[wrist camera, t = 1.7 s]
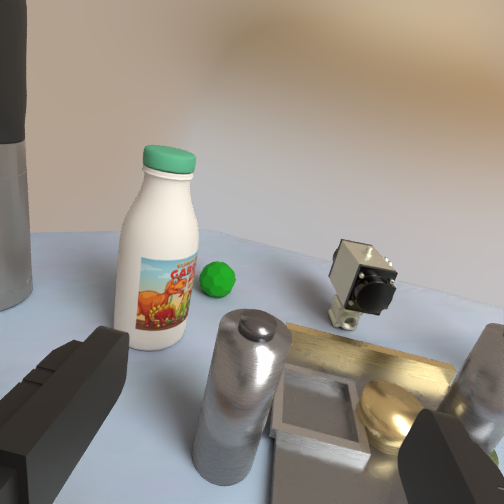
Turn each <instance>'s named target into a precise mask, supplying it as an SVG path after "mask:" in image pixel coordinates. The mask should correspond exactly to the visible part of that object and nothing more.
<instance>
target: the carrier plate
mask: <svg viewBox="0 0 504 504" xmlns="http://www.w3.org/2000/svg"><path fill="white" fill-rule="evenodd" d="M286 326H287V327H288V329H289V330H290V332H291V335H292V344H291V347H290V350H289V353H288V356H287V359H286V363H285V366H284V369H283V372H282V375H281V378H280V381H279V384H278V387H277V390H276V393H275V396H274V399H273V402H272V410H271V422H270V434H269V437H273V438H274V453H273V469H272V484H271V499H270V504H408V501H407V498H406V495H405V492H404V488H403V485H402V482H401V479H400V475H399V471H398V452H399V448H400V446H401V444H402V442H403V440H404V439H405V437H406V435H407V433H408V431H409V430H410V428H411V426H412V424H413V422H414V421H415V419H416V417H417V415H418V414H419V412H420V411H421V410H422V409H430V410H434V411H438V412H442V413H446V414H450V415H454V416H456V417H457V418H458V419H459V420H460V421H461V423H462V424H463V426H464V428H465V430H466V431H467V433H468V435H469V437H470V438H471V440H472V442H474V443H477V444H478V445H479V446H480V447H481V449H482V450H483V451H484V452H485V453H486V454H487V455H488V456H489V457H490V458H491V459H492V461H493V462H494V463H495V464H496V465H497V467H498V464H499V462H498V457H497V454H496V452H495V450H494V448H495V447H496V446H497V444H498V443H499V441H500V440H501V439H502V437H503V436H504V325H501V324H495V323H491V324H488V325H486V327H485V329H484V330H483V332H482V334H481V335H480V337H479V339H478V341H477V342H476V344H475V346H474V347H473V349H472V351H471V352H470V354H469V356H468V357H467V359H466V361H465V362H464V364H463V366H462V367H461V369H460V371H459V372H458V374H457V376H456V377H455V379H454V381H453V383H452V384H451V386H449V384H450V382H451V381H452V379H453V377H454V376H455V374H456V372H457V371H456V370H455V368H454V367H453V365H452V364H448V363H444V362H440V361H436V360H432V359H428V358H424V357H420V356H416V355H413V354H409V353H405V352H401V351H397V350H393V349H389V348H385V347H381V346H377V345H373V344H369V343H365V342H362V341H358V340H354V339H350V338H346V337H342V336H338V335H334V334H330V333H326V332H322V331H318V330H314V329H310V328H307V327H303V326H299V325H295V324H291V323H286Z"/></svg>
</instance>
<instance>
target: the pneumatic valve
mask: <svg viewBox="0 0 504 504" xmlns="http://www.w3.org/2000/svg"><path fill="white" fill-rule="evenodd" d="M391 266H392V262H390V261H388V258H387V257H383V256H381V255H380V254H379V253H378V251H377V250H376V249H375V248H374V247H373V246H372V245H369V244H364V243H359V242H354V241H349V240H344V239H341V241H340V244H339V247H338V249H336V251H335V252H334V255H333V264H332V267H331V270H330V273H329V279H330V281H331V283H332V285H333V287H334V289H335V291H336V293H337V295H334V296H333V301H332V302H333V303H332V305H331V309H329V310H328V314H329V316H330V319H331V321H332V324H333V326H334V327H337V328H338V327H339V326H340V327H343V328H344V329H347V330H356V328H357V325H358V321H359V318H360V316H361V315H362V314H363V313H368V314H373V315H380V313H381V311H382V310H384V309H387V308H388V306H389V304H390V303H391V301H392V298H393V295H394V292H395V290H396V287H395V286H394V285H393V283H394V281H395V279H396V276H397V274H398V273H397V272H396V271H395V270H394V269H393V268H392V267H391Z"/></svg>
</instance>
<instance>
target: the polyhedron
mask: <svg viewBox="0 0 504 504" xmlns="http://www.w3.org/2000/svg"><path fill="white" fill-rule="evenodd" d="M199 279H200V285H201V288H202V290H203V291H204V292H205V293H206V294H207V295H209V296H214V297H223V296H225V295H227V294H229V293H230V291H231V289H232V287H233V285H234V283H235V281H236V279H235V273H234V271H233V270H232V269H231V268H230V267H229V266H228V265H227V264H226V263H224V262H212V263H210V264H208V265H206V266H205V267H204V269H203V271H202V273H201V275H200V278H199Z"/></svg>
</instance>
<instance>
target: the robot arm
mask: <svg viewBox="0 0 504 504" xmlns="http://www.w3.org/2000/svg"><path fill="white" fill-rule="evenodd" d="M26 39H27V6H26V0H0V311H1V310H5V309H7V308H10V307H12V306H15V305H17V304H18V303H20V302H22V301H23V300H25V299H26V298H27V297H28V296H29V295H30V293H31V292H32V288H33V285H32V265H31V242H30V223H29V205H28V184H27V167H26V148H25V147H26V146H25V127H24V126H25V125H24V124H25V113H26V101H27V100H26V99H27V94H26V93H27V92H26V91H27V90H26V42H27V40H26ZM129 340H130V336H129V333H128V332H124V331H120V330H116V329H112V328H108V327H104V326H99V327H98V328H96V329H95V330H94V331H93V333H92V334H91V335H90V336H89V337H88V338H87V339H86V340H85V341H84V342H80V341H76V340H72V341H70V342H68V343H66V344H65V345H63V346H61V347H59V348H57V349H55V350H53V351H52V352H51V353H50V354H49V355H47V356H46V357H45V358H44V359H43V360H42V361H41V362H40V363H39V364H38V365H37V367H36V369H33V370H32V371H31V372H30V373H29V374H28V375H26V376H25V377H24V378H23V381H22V382H21V383H20V382H19V383H18V384H17V385H16V386H15V387H14V388H13V389H12V390H11V391H10V392H9V393H8V394H6V395H5V396H4V397H3V398H2V399H1V400H0V504H52V503H53V502H54V500H55V498H56V497H57V495H58V494H59V492H60V490H61V489H62V487H63V486H64V484H65V482H66V481H67V479H68V478H69V476H70V475H71V473H72V471H73V470H74V468H75V467H76V465H77V463H78V462H79V460H80V459H81V457H82V455H83V454H84V452H85V451H86V449H87V447H88V446H89V444H90V443H91V441H92V440H93V438H94V436H95V435H96V433H97V432H98V430H99V428H100V427H101V425H102V424H103V422H104V420H105V419H106V417H107V416H108V414H109V413H110V411H111V409H112V408H113V406H114V405H115V403H116V401H117V400H118V398H119V396H120V394H121V392H122V389H123V386H124V383H125V380H126V373H127V362H128V351H129ZM398 471H399V475H400V479H401V482H402V485H403V488H404V492H405V495H406V498H407V501H408V504H504V477H503V475H502V473H501V472H500V470H499V468H498V467H497V465H496V464H495V463H494V462H493V461H492V459H491V458H490V457H489V456H488V455H487V454H486V453H485V452H484V451H483V450H482V449H481V447H480V446H479V445H478V444H477V443H474V442H472V440H471V438H470V437H469V435H468V433H467V431H466V430H465V428H464V426H463V424H462V423H461V421H460V420H459V419H458V418H457V417H456V416H454V415H450V414H446V413H442V412H438V411H434V410H430V409H422V410H421V411H420V412H419V414H418V415H417V417H416V419H415V421H414V422H413V424H412V426H411V428H410V430H409V431H408V433H407V435H406V437H405V439H404V440H403V442H402V444H401V446H400V448H399V452H398Z"/></svg>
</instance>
